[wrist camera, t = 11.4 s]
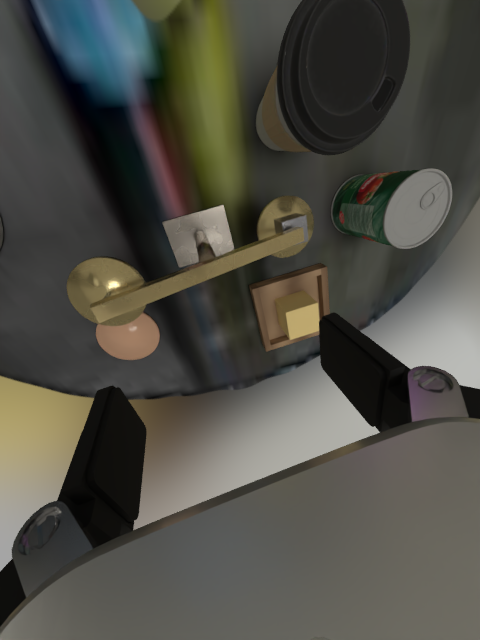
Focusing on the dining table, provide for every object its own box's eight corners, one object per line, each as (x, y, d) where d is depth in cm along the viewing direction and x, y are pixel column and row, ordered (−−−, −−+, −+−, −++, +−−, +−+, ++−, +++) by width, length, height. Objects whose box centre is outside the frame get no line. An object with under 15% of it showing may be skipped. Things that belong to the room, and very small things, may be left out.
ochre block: (274, 299, 39) (285, 312, 35) (303, 290, 40) (317, 302, 35) (279, 324, 42) (290, 340, 38) (306, 316, 42) (320, 330, 38)
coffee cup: (310, 167, 32) (396, 153, 19) (240, 167, 30) (281, 150, 17) (321, 69, 27) (444, -39, 14) (239, 62, 26) (294, -65, 13)
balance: (126, 281, 34) (74, 362, 18) (104, 238, 31) (18, 289, 15) (283, 234, 35) (366, 271, 19) (277, 188, 32) (368, 188, 16)
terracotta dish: (115, 364, 40) (114, 366, 39) (84, 318, 35) (83, 320, 35) (168, 347, 40) (168, 349, 40) (145, 300, 36) (144, 302, 35)
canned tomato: (349, 244, 38) (403, 263, 29) (320, 208, 35) (371, 216, 25) (389, 202, 36) (462, 207, 27) (363, 160, 33) (436, 148, 23)
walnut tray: (263, 345, 44) (266, 351, 42) (248, 285, 38) (252, 289, 36) (324, 325, 45) (330, 330, 43) (320, 263, 39) (327, 266, 37)
